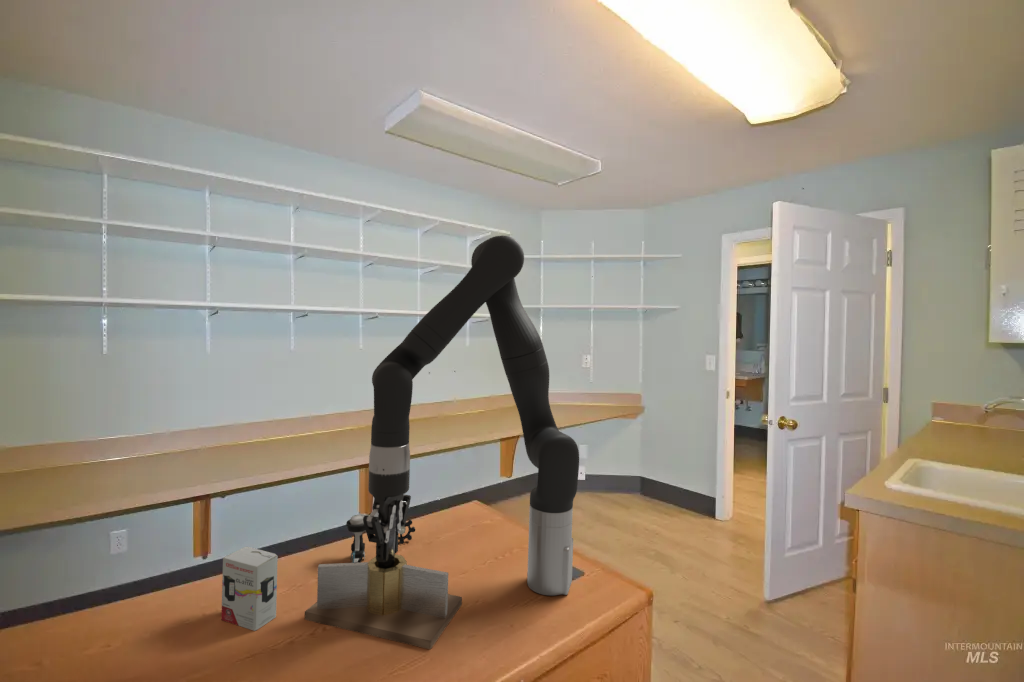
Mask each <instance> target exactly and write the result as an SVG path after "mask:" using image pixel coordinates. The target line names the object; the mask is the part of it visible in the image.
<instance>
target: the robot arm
mask: <svg viewBox="0 0 1024 682" xmlns="http://www.w3.org/2000/svg"><path fill="white" fill-rule="evenodd" d="M470 259H471V267H470V269H469V271H467V273H466V274H465V276H464V277H463V278H462V279H461V280H460V281H459V282H458V284H457V285H456V286H455V287H454V288H453V289H452V290H451V291H449V293H447V294H446V295H445V296H444V297H443V298H442V299H441V300H440V301H439V302H437V303H436V304H435V305H434V306H433V307H432V308H431V309H430V310H429V311H428V312H426V314H425V315H424V316H423V317H422V318H421V319H420V320H419V322H417V324H416V325H415V326H413V328H412V329H411V331H410V332H409V333H408V334H407V335H406V336H405V337H404V339H403V340H402V342H401V343H400V344H398V346H396V347H395V348H394V349H393V350H392V351H391V352H390V353H388V355H387V356H386V357H385V358H383V360H381V361H380V362H379V364H378V365H377V366H376V367H375V369H374V370H373V372H372V377H371V383H372V387H373V417H372V420H371V432H370V433H371V434H370V435H371V438H370V449H369V456H368V490H367V491H368V493H369V494H370V495H372V497H373V503H372V507H371V508H372V511H371V513H370V514H368V515H367V514H364V515H365V516H364V518H363V522H364V526H365V530H366V531H365V533H366V536H367V539H368V542H369V543H374V544H375V545H376V546H375V557H376V560H377V561H379V562H386V561H387V560H388V552H389V542H388V540H389V533H390V529H392V527H393V519H394V514H395V512H396V534H395V554H396V555H397V553H398V552H399V540H398V537H399V534H400V531H401V526H402V527H404V526H405V523H406V522H407V518H408V513H409V508H410V504H411V499H412V496H411V495H409V494H406V493H408V492H409V489H410V479H411V477H410V476H411V475H410V474H411V469H410V468H411V450H410V414H411V413H410V412H411V406H412V401H413V400H412V398H413V388H414V387H413V386H414V385H413V380H414V378H415V377H416V376H417V375H418V374H419V373H420V372H421V371H422V369H423V368H424V367H425V366H427V365H429V364H431V363H432V362H433V361H434V360H436V359H437V358H438V356H439V355H440V354H441V353H442V352H443V351H444V349H445V348H446V347H447V346H448V345H449V344H450V342H452V340H453V339H454V338H455V337H456V335H457V334H458V333H459V332H460V331H461V330H462V328H463V327H464V326H465V325H466V324H467V322H468V321H469V320H470V319H471V318H472V317H473V316H474V315H475V314H476V312H477V311H478V310H479V309H480V308H482V306H483V305H484V304H486V307H487V310H488V314H489V317H490V320H491V325H492V329H493V333H494V336H495V340H496V344H497V348H498V351H499V356H500V359H501V362H502V366H503V370H504V374H505V376H506V379H507V381H508V384H509V388H510V392H511V395H512V398H513V400H514V404H515V406H516V409H517V412H518V416H519V419H520V423H521V424H520V425H521V430H522V436H523V441H524V447H525V450H526V455H527V457H528V460H529V461H530V462H531V464H532V465H533V466H534V467H535V468H537V482H536V487H534V488H532V490H531V491H530V493H529V494H530V495H529V512H528V513H529V516H528V517H529V519H528V520H529V521H528V546H527V547H528V548H527V570H526V571H527V572H526V576H527V579H526V581H527V582H526V583H527V586H528V588H529V589H530V590H531V591H532V592H534V593H537V594H539V595H544V596H560V595H564V596H566V595H567V596H568V594H569V591H570V589H571V585H572V583H573V561H574V560H573V559H574V558H573V556H574V538H573V514H574V513H573V511H574V507H573V506H574V500H575V497H576V495H577V492H578V483H579V472H580V470H579V469H580V451H579V447H578V445H577V442H576V441H575V439H574V438H572V436H570V435H568V434H565V433H563V432H562V431H560V430H559V429H558V425H557V424H556V421H555V418H554V415H553V413H552V410H551V405H550V399H549V397H550V396H549V392H550V368H549V362H548V359H547V358H548V357H547V355H546V352H545V348H544V345H543V341H542V338H541V336H540V335H539V332H538V330H537V328H536V327H535V325H534V323H533V321H532V320H531V318H530V316H529V315H528V313H527V312H526V310H525V308H524V306H523V304H522V302H521V299H520V297H519V293H518V287H517V284H516V280H515V278H516V277H517V276H518V275H519V274H520V272H521V271H522V270H523V267H524V262H525V253H524V250H523V247H522V246H521V244H520V242H518V241H517V240H516V239H515V238H513V237H511V236H509V235H495V236H492V237H490V238H488V239H486V240H484V241H483V242H480V244H478V245H477V246H476V247H475V248H474V250H473V252H472V255H471V258H470ZM380 522H383V523H387V525H385V524H381V523H380ZM382 530H384V536H383V533H382Z"/></svg>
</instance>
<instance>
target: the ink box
mask: <svg viewBox="0 0 1024 682" xmlns="http://www.w3.org/2000/svg"><path fill="white" fill-rule="evenodd" d="M278 561H279V560H278V555H277V554H276V553H274V552H271V551H270V552H269V551H265V550H262V549H259V548H258V549H257V548H254V547H251V546H244V547H242V548H240V549H238V550H236V551H234V552H232V553H229V554H227V555H226V556H224V557H222V581H221V583H222V585H221V586H222V587H221V588H222V589H221V590H222V591H221V615H220V616H221V621H224V622H226V623H228V624H232V625H236V626H239V627H241V628H245V629H247V630H250V631H254V632H257V630H260V628H263V626H265V625H266V624H268V623H270V622H271V621H272V620H274V619H275V618H276V617H277V594H278V593H277V591H278Z"/></svg>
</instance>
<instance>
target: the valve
mask: <svg viewBox="0 0 1024 682" xmlns="http://www.w3.org/2000/svg"><path fill="white" fill-rule="evenodd" d="M411 525H413V520H412V519H411V518H410V519H408V520H407V521H406V523H405V526H404V527H402V526H401V531H400V533H399V536H398V544H400V545H403V544H405V540H406V539H407V540H408V541H411V540H412V539H413V536H412V534H411V533H414V532H416V527H415V526H412V527H411ZM407 528H408V530H407V533H406V529H407ZM404 534H405V535H404Z"/></svg>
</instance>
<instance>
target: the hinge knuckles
mask: <svg viewBox="0 0 1024 682" xmlns="http://www.w3.org/2000/svg"><path fill="white" fill-rule="evenodd" d="M378 562H379V561H377V560H376V556H374V557H373V558H372V559H370V560H369V561H366V562H365V561H363V562H362V561H361V563H352V562H344V563H341V562H340V563H339V562H338V563H322V564H321V563H319V564H318V566H317V589H316V590H317V593H316V594H317V595H316V599H317V600H316V602H317V609H332V608H350V607H367V608H368V611H369V612H370V613H373V614H378V615H388V614H391V613H395V612H398V611H400V609H404V610H408V611H413V612H418V613H422V614H427V615H432V616H436V617H441V618H446V616H447V606H448V594H449V572H447V571H443V570H442V571H441V570H437V569H430V568H425V567H420V566H416V565H415V566H414V565H410V564H408V562H407V560H406V558H405V557H404V556H403V555H400V554H397V553H396V554H395V565H394V566H393V567H391V568H388V569H382V568H380V567H379V566H378Z"/></svg>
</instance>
